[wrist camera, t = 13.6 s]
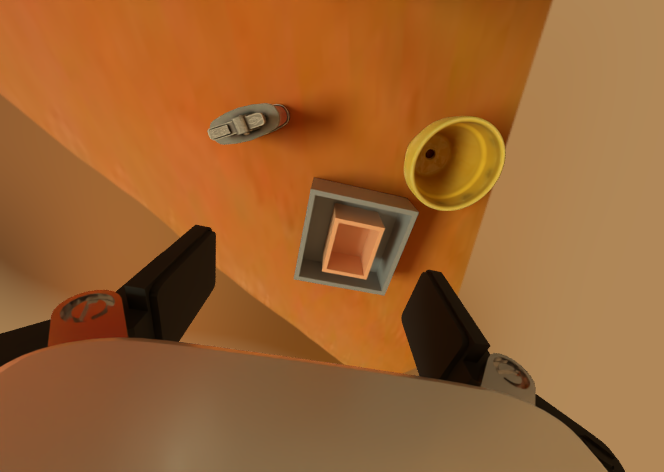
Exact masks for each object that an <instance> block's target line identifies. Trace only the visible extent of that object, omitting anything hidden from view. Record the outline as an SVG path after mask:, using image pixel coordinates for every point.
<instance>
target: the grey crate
mask: <svg viewBox="0 0 664 472" xmlns="http://www.w3.org/2000/svg"><path fill="white" fill-rule="evenodd" d="M335 203H338V204H343V205H348V206H352V207H357V208H362V209H366V210H371V211H376V212H378V214H379V216H380V218H381V220H382V223H383V225H384V227H385V230H384V232H383V235H382V238H381V241H380V243H379V246H378V249H377V252H376V255H375V257H374V260H373V263H372V266H371V268H370V271H369V274H368V277H367V279H360V278H355V277H349V276H344V275H339V274H333V273H328V272H322V262H323V250H324V246H325V242H326V238H327V233H328V229H329V225H330V221H331V217H332V213H333V209H334V205H335ZM418 213H419V212H418V211H417V209H416V208H415V207H414V206H413V205H412V203H411V202H410V201H409V200H408V199H407V198H404V197H400V196H395V195H391V194H386V193H382V192H377V191H373V190H368V189H364V188H359V187H355V186H350V185H346V184H341V183H337V182H332V181H328V180H323V179H319V178H314V179H313V183H312V187H311V191H310V196H309V202H308V207H307V212H306V218H305V223H304V228H303V233H302V239H301V244H300V249H299V254H298V260H297V265H296V270H295V276H294V279H295V280H301V281H307V282H312V283H318V284H323V285H329V286H334V287H340V288H346V289H351V290H357V291H362V292H368V293H374V294H379V295H385V293H386V290H387V288H388V286H389V283H390V281H391V278H392V276H393V274H394V271H395V269H396V266H397V264H398V262H399V259H400V257H401V254H402V252H403V250H404V247H405V245H406V242H407V240H408V237H409V235H410V233H411V230H412V228H413V225H414V223H415V221H416V218H417V216H418Z"/></svg>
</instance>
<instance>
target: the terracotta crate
mask: <svg viewBox="0 0 664 472" xmlns="http://www.w3.org/2000/svg"><path fill="white" fill-rule="evenodd" d="M384 230H385V227H384V225H383V223H382V220H381V218H380V216H379V214H378V212H376V211H371V210H366V209H362V208H357V207H352V206H348V205H343V204H338V203H335V205H334V209H333V213H332V217H331V221H330V225H329V229H328V233H327V238H326V242H325V246H324V250H323V262H322V272H328V273H333V274H339V275H344V276H349V277H355V278H360V279H367V277H368V274H369V271H370V268H371V266H372V263H373V260H374V257H375V255H376V252H377V249H378V246H379V243H380V241H381V238H382V235H383V232H384Z"/></svg>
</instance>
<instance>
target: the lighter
mask: <svg viewBox="0 0 664 472" xmlns="http://www.w3.org/2000/svg"><path fill="white" fill-rule="evenodd" d="M289 118H290V116H289V112H288V110H287V108H286V107H285V106H283V105H280V104H275V105H272V104H268V103H264V104H253V105H248V106H244V107H240V108H237V109H234V110H232V111H230V112H227V113H225V114H223V115H222V116H220V117H218V118H217V119H215V120H214V121H213V122H212V123H211V125H210V129H208V135H209V137H210V138H211V139H212V140H215V141H216V142H218V143H220V144H224V145H225V144H236V143H241V142H246V141H250V140H253V139H255V138H258V137H260V136H263V135H266V134H268V133H271V132H273V131H276V130H278V129H279V128H281V127H283V126H285V125H286V124H287V123H288V122H289Z"/></svg>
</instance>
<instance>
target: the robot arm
mask: <svg viewBox="0 0 664 472" xmlns="http://www.w3.org/2000/svg"><path fill="white" fill-rule="evenodd" d="M215 268H216V234H215V232H213V231H212V229H211V228H210V227H205V226H200V225H195V226H193V227H192V228H191V229H190V230H189V231H188V232H186V233H185V234H184V235H183V236H182V237H181V238H179V239H178V240H177V241H176V242H175V243H174V244H172V245H171V246H170V247H169V248H168V249H166V250H165V251H164V252H162V253H161V254H160V255H159V256H157V257H156V258H155V259H154V260H153V261H152V262H150V263H149V264H148V265H147V266H146V267H144V268H143V269H142V270H141V271H140V272H139V273H137V274H136V275H135V276H134V277H133V278H131V279H130V280H129V281H128V282H127V283H126V284H124V285H123V286H122V287H121V288H120V289H118V290H117V291H116V292H114V291H109V290H94V291H88V292H84V293H81V294H77V295H75V296H73V297H71V298H68V299H67V300H65V301H64V302H62V303H61V304H59V305H58V306H57V307H56V308H55V309H54V311H53V313H52V315H51V319H50V320H47V321H43V322H40V323H36V324H33V325H29V326H26V327H22V328H19V329H16V330H12V331H9V332H5V333H1V334H0V472H625V470H624V469H623V467H622V465H621V464H620V462H619V460H618V459H617V458H616V457H615V455H614V454H613V453H612V451H611V450H610V449H609V448H608V447H607V446H606V445H605V444H604V443H603V442H602V441H600V440H599V439H598V438H596V437H595V436H594V435H592V434H591V433H590V432H588V431H587V430H585V429H584V428H583V427H581V426H580V425H578V424H577V423H576V422H574V421H573V420H571V419H570V418H569V417H567V416H566V415H564V414H563V413H562V412H560V411H559V410H557V409H556V408H555V407H553V406H552V405H550V404H549V403H548V402H546V401H545V400H543V399H542V398H541V397H539V396H538V395H536V394H535V391H536V388H535V383H534V381H533V379H532V377H531V376H530V375H529V373H528V372H527V371H526V370H525V369H524V368H523V367H522V366H521V365H520V364H518V363H517V362H516V361H514V360H513V359H511V358H509V357H507V356H505V355H502V354H499V353H493V354H489V352H488V348H489V347H490V344H489V343H488V341H487V340H486V339H485V337H484V336H483V334H482V333H481V331H480V329H479V328H478V326H477V325H476V323H475V322H474V320H473V319H472V317H471V316H470V314H469V313H468V311H467V310H466V309H465V307H464V305H463V304H462V302H461V301H460V299H459V298H458V296H457V295H456V293H455V292H454V290H453V289H452V287H451V286H450V284H449V283H448V281H447V280H446V278H445V277H444V275H443V274H442V273H441V272H438V271H432V270H427V271H426V272H423V273H422V274H421V276H420V278H419V280H418V282H417V284H416V286H415V289H414V291H413V293H412V295H411V297H410V299H409V301H408V303H407V305H406V307H405V309H404V311H403V314H402V324H403V327H404V330H405V333H406V336H407V339H408V342H409V345H410V348H411V351H412V354H413V357H414V360H415V364H416V367H417V370H418V373H419V376H414V375H407V374H401V373H394V372H388V371H381V370H375V369H368V368H362V367H355V366H348V365H341V364H334V363H328V362H321V361H313V360H307V359H300V358H293V357H286V356H279V355H271V354H265V353H258V352H250V351H244V350H237V349H230V348H222V347H215V346H208V345H199V344H192V343H183V342H179V341H180V339H181V337H182V336H183V335H184V333H185V331H186V330H187V328H188V327H189V325H190V324H191V322H192V321H193V319H194V318H195V316H196V315H197V313H198V312H199V310H200V309H201V307H202V306H203V304H204V303H205V301H206V300H207V298H208V297H209V295H210V293H211V292H212V290H213V288H214V286H215Z"/></svg>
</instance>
